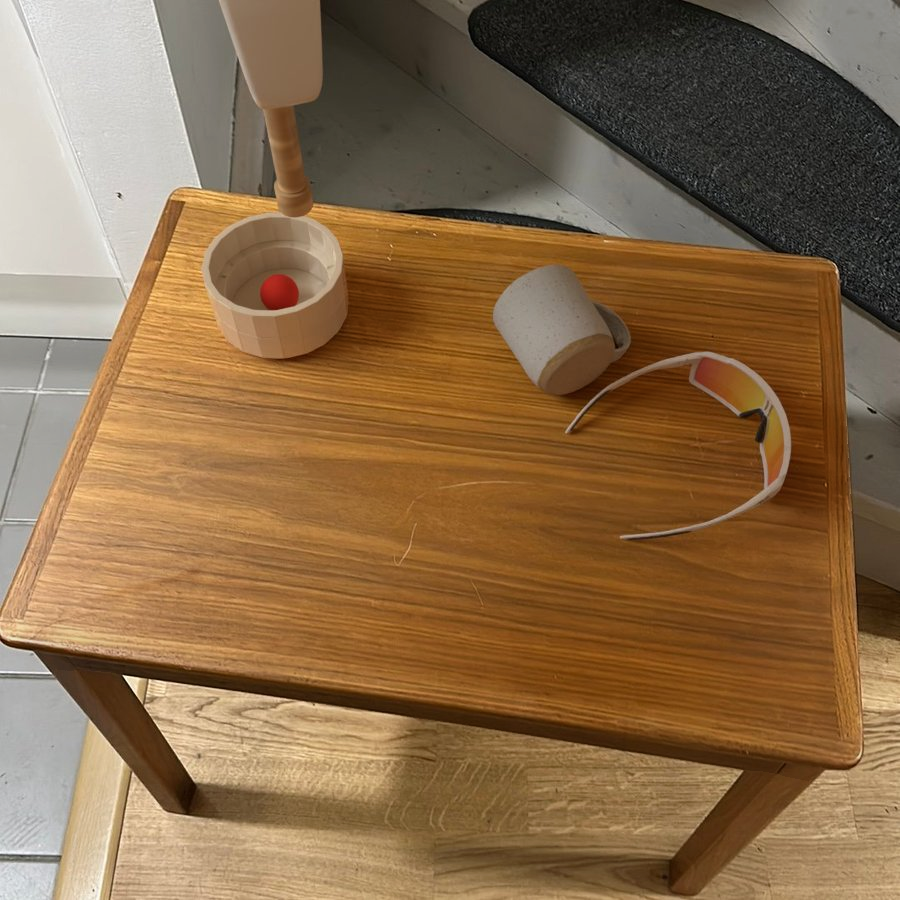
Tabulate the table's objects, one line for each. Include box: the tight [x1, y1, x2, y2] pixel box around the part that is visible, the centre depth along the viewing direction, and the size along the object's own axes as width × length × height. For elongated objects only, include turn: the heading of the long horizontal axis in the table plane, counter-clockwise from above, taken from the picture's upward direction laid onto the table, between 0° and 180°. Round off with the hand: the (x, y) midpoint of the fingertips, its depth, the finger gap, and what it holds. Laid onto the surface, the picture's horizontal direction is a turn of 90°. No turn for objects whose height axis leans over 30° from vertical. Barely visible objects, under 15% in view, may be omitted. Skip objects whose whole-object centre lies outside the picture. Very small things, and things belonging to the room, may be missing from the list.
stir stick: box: [262, 105, 314, 218], centre depth 60 cm, size 3×3×20 cm
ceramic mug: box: [492, 264, 632, 396], centre depth 74 cm, size 11×8×8 cm
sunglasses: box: [564, 351, 792, 541], centre depth 70 cm, size 14×15×5 cm
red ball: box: [260, 274, 299, 310], centre depth 77 cm, size 3×3×3 cm
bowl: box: [201, 211, 350, 359], centre depth 77 cm, size 11×11×6 cm
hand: (271, 75), depth 59 cm, fingers closed on stir stick, 2 cm apart
